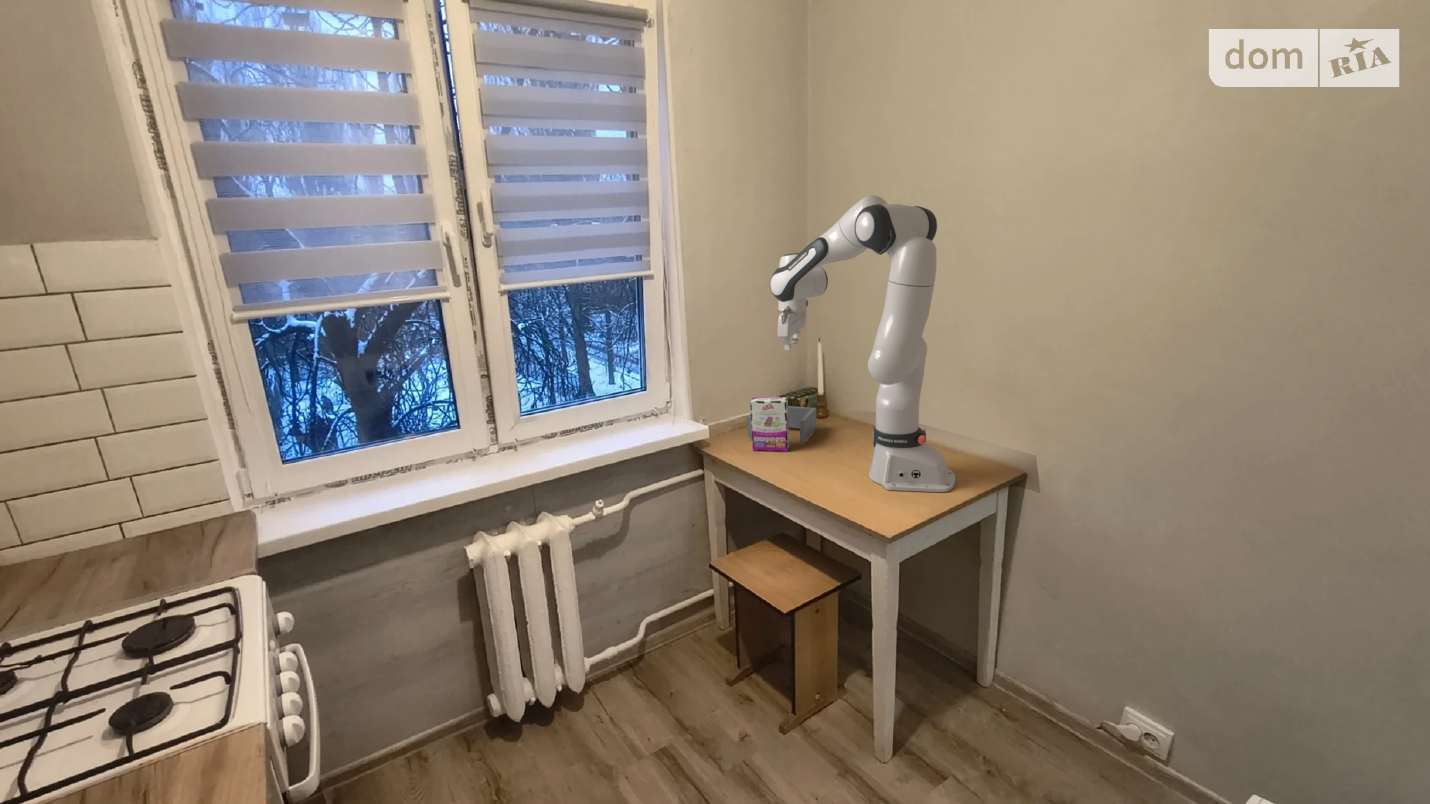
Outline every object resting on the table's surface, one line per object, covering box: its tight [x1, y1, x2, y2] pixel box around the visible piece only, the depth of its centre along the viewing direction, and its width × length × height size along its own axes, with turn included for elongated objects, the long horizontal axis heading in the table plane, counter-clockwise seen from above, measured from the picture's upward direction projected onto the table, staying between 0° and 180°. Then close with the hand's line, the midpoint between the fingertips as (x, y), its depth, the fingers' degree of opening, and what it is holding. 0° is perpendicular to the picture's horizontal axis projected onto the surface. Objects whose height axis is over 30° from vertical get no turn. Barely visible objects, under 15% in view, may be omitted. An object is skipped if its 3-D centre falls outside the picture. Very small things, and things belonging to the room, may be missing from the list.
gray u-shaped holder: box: [746, 405, 817, 443], centre depth 208 cm, size 19×14×8 cm
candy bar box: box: [750, 396, 790, 453], centre depth 197 cm, size 11×5×16 cm, turn 77°
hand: (791, 346), depth 209 cm, fingers open, 8 cm apart
